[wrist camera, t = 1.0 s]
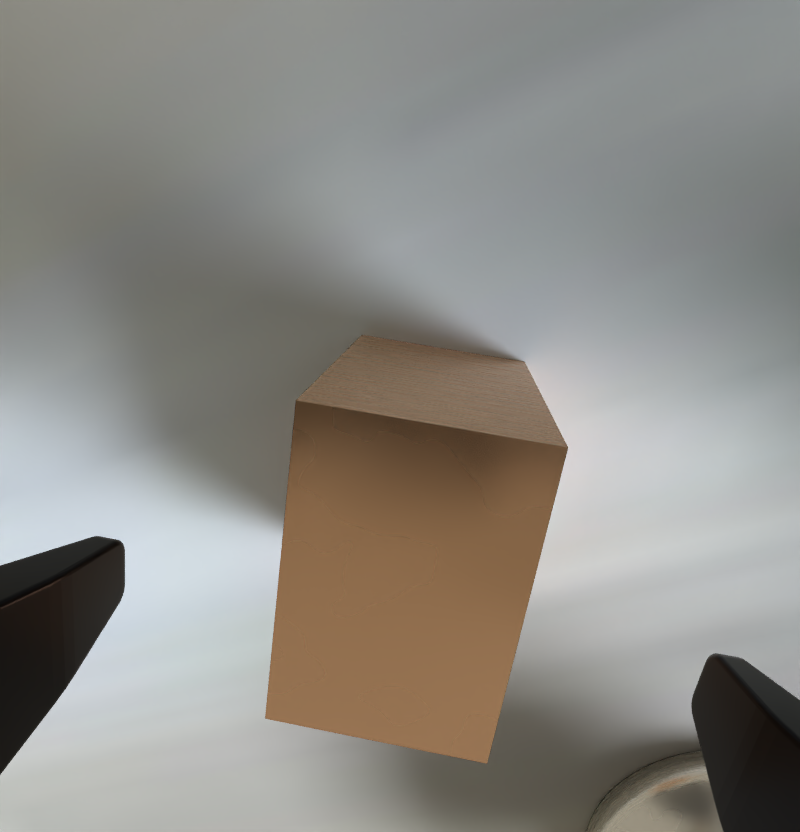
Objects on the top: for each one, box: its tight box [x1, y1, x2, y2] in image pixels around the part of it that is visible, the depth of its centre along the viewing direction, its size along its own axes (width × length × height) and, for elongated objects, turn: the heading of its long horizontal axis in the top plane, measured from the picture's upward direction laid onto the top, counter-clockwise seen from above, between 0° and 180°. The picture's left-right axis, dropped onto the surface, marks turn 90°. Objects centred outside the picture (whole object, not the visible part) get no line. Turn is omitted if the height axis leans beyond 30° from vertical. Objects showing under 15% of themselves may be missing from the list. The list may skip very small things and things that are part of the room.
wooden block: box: [265, 335, 568, 764], centre depth 12 cm, size 4×6×6 cm, turn 172°
